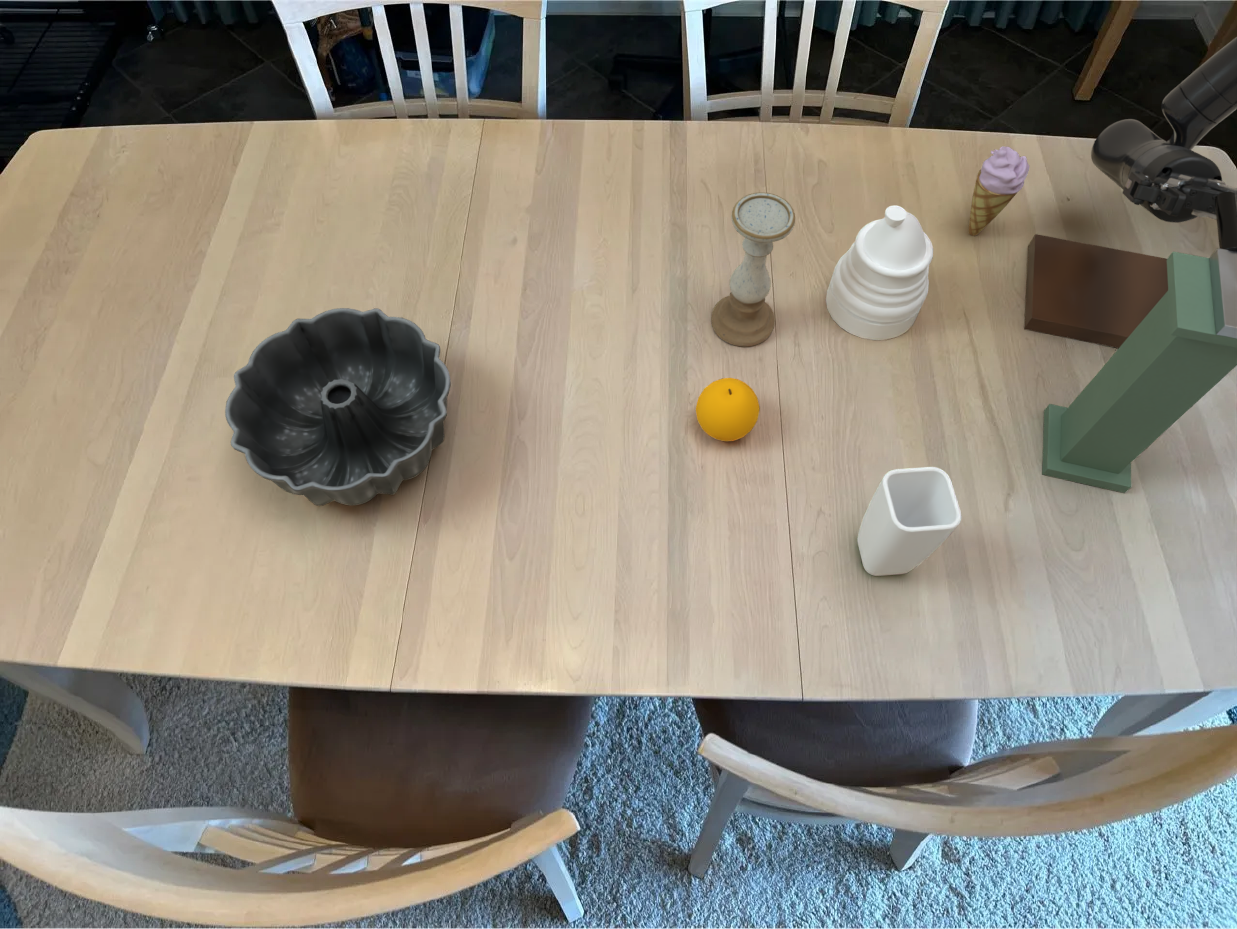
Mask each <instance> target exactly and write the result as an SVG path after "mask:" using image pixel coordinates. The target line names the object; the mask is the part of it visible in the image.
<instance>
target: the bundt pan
mask: <svg viewBox="0 0 1237 929" xmlns="http://www.w3.org/2000/svg"><path fill="white" fill-rule="evenodd" d="M440 357H441V346H440V344H439V343H437V342H435V341H431V340H428V339H427V338H426V335H425V332H424V331H423V330H422V328H421V327H419V325H418V324H416V323H415V322H413V321H411V320H410V319H407V318H404V317H400V316H388V315H387V314H386V313H385V312H384V311H382V310H381V309H380V308H379V307H375V308H371V309H369V310H365V311H361V310H358V309H355V308H350V307H339V308H338V307H337V308H332V309H328V310H325V311H322V312H320V313H318V314H316V315H315V316H313V317H312V318H296V319H294V320H293V321H292V322H291V323H290V324H289V326H288V327H287V328H286V329H285V330H282V331H278V332H275V333H273V334H272V335H269V336H268V337H266V338H265V339H264V340H262V341H260V342H259V344H257V346H256V347H255V348H254V349H253V351H252V352H251V355H250V356H249V359H248V362H247V364H246V365H244V366H243V367H241V368H239V369H238V370H236V371H235V372H234V374H233V380H234V385H235V387H234V388H232V391H231V392H230V394H229V396H228V397H227V400H226V403H225V408H224V416H225V419H226V423H227V424H228V426H229V427H230V429H231V430H232V431H233V433H232V436H231V440H230V446H231V447H232V448H233V449H234V451H237V452H240V453H242V454H244V457H245V460H246V463H247V464H248V465H249V467H250V468H251V469H252V471H253V472H254V473H255V474H257V475H258V476H260V477H261V478H263V479H265V480H267V481H271V482H272V483H273V484H275V485H276V486H277V487H279V488H280V489H281V490H282V491H285V492H286V493H289V494H292V495H296V496H304V497H305V498H306V499H307V500H308V501H310V502H311V503H312V504H313V505H315V506H318V507H322V506H325V505H327V504H330V503H331V502H336V503H338V504H340V505H341V504H342V505H346V506H359V505H363V504H365V503H368V502H369V501H371V500H372V499H374V498H375V497H376V496H377V495H378V494H382V495H383V494H384V495H391V496H392V495H395V494H396V493H397V491H398V490H399V487H400V486H401V485H402V482H403V481H406V480H411V479H414V478H415V477H417V476H419V475H420V474H422V473H423V471H424V470H425V469H426V468H427V467H428V465H429V462H430V460H431V456H432V452H433V450H435V449H436V448H438V447H439V446H441V445H442V444H443V442H444V441H445V420H446V418H447V416H448V396H449V393H450V390H451V384H452V383H451V382H452V381H451V375H450V371H449V369H448V367H447V366H446V364H445V363H444V362H443V361H442V360H441V359H440Z"/></svg>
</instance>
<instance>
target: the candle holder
mask: <svg viewBox="0 0 1237 929" xmlns="http://www.w3.org/2000/svg"><path fill="white" fill-rule="evenodd" d="M730 218H731V219H730V220H731V223H732V227H733V228H734V230H735V231H736V232H737V234H739V235H741V237H743V240H742V242H741V246H742V249H743V251H744V255H743V259H742V261H741V263H740V264H739V265H738V266H737V267H736V268H735V269H734V270H733V271H732V273H731V275H730V278H729V284H728V286H729V290H730V293H729V295H726V296H725V297H722V298H721V299H720V300H719V301H718V302H716V303H715V306H714V307H713V309H712V311H711V317H710V318H711V319H710V320H711V321H710V322H711V327H712V329H713V331H714V332H715V334H716V336H718V337H719V338H720V339H721V340H723V341H724V342H726V343H727V344H730V345H732V346H737V347H754V346H757V345H760V344H761V343H764V341H766V340H767V339H768V338H770V336H771V334H772V332H773V331H774V328H775V325H776V324H775V322H776V318H775V313H774V311H773V309H772V307H771V306H770V305H769V303H768V302H766V297H767V296H768V294H769V293H770V291H771V286H772V281H771V275H770V273H769V271H768V269H767V265H766V264H767V257H768V256H769V255H770V254H771V253H772V251H773V250H774V243H775V242H779V241H781V240H784V239H785V238H787V236H789V235H790V233H792V231H793V229H794V228H795V224H796V213H795V210H794V208H793V206H792V205H791V204H790V202H788V201H787V200H786V199H785V198H783V197H782V196H779V195H777V194H774V193H770V192H764V191H763V192H759V191H758V192H752V193H748V194H746V195H744V196H743V197H741V198H740V199H738V201H737V202H736V203H734V206H733V207H732V210H731V216H730Z"/></svg>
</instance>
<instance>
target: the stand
mask: <svg viewBox="0 0 1237 929" xmlns="http://www.w3.org/2000/svg"><path fill="white" fill-rule="evenodd" d="M1166 259H1167V275H1168V291H1167V292H1166V294H1165V295H1164V296H1163V297H1162V298H1161V299H1160V301H1159V302H1158V303H1157V304H1156V305H1155V306H1154V308H1153V309H1152V310H1151V311H1150V312H1149V313H1148V315H1147V316H1146V317H1145V318H1144V319H1143V320H1142V322H1141V323H1140V324H1139V325H1138V326H1137V327H1136V329H1135V330H1134V331H1133V332H1132V333H1131V335H1130V336H1129V337H1128V338H1127V339H1126V340H1125V342H1124V343H1123V344H1122V345H1121V346H1120V347H1119V348H1117V350H1115V352H1114V353H1113V354H1112V356H1111V357H1110V358H1109V359H1108V360H1107V361H1106V362H1105V364H1104V365H1103V366H1102V367H1101V368H1100V369H1099V371H1098V372H1097V373H1096V374H1095V376H1094V377H1093V378H1092V379H1091V380H1090V381H1089V382H1088V384H1087V385H1086V386H1085V387H1084V388H1083V390H1082V391H1081V392H1079V394H1078V395H1077V397H1075V399H1074V400H1073V401H1072V402H1071V403H1070V404H1069V405H1068V406H1067V407H1066V406H1062V405H1057V404H1052V403H1049V404H1047V406H1046V407H1045V409H1044V410H1043V431H1042V433H1043V437H1042V439H1043V440H1042V441H1043V442H1042V463H1041V464H1042V465H1041V466H1042V467H1041V475H1042V476H1047V477H1050V478H1056V479H1060V480H1065V481H1069V482H1073V483H1077V484H1081V485H1082V484H1083V485H1086V486H1092V487H1096V488H1100V489H1104V490H1109V491H1112V492H1113V491H1114V492H1117V493H1123V494H1125V493H1127V492H1128V491H1129V490H1130V489H1132V462H1134V461H1135V460H1136V459H1137V458H1138V457H1139V456H1140V455H1141V454H1142V453H1143V452H1144V451H1146V450H1147V449H1148V448H1149V447H1150V446H1151V445H1152V444H1153V443H1154V442H1156V440H1157V439H1158V438H1160V437H1161V436H1162V435H1164V433H1165V432H1166V431H1168V430H1169V428H1170V427H1171V426H1172V425H1174V424H1175V423H1176V422H1177V421H1178V420H1180V419H1181V417H1182V416H1184V414H1186V413H1187V412H1188V411H1189V410H1190V409H1191V408H1192V407H1194V406H1195V405H1196V404H1197V403H1198V402H1199V401H1200V400H1201V399H1202V398H1203V397H1204V396H1206V394H1208V392H1210V391H1211V390H1212V389H1213V388H1214V387H1215V386H1217V384H1218V383H1219V382H1221V381H1222V380H1223V379H1224V378H1225V377H1227V375H1228V374H1229V373H1230V372H1231V371H1233V369H1235V368H1236V367H1237V339H1236V338H1231V337H1226V336H1221V335H1217V334H1216V328H1215V317H1214V306H1213V295H1212V284H1211V273H1210V262H1209V257H1207V256H1206V257H1205V256H1200V255H1195V254H1190V253H1185V252H1179V251H1172V252H1171V253H1170V254H1169V256H1168V257H1167V258H1166Z"/></svg>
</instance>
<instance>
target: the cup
mask: <svg viewBox="0 0 1237 929" xmlns="http://www.w3.org/2000/svg"><path fill="white" fill-rule="evenodd" d="M956 494H957V493H956V491H955V488H954V485H953V482H952V479H951V477H950V476H949V474H948V472H946V471H945V470H943V469H942V468H940V467H937V466H922V467H921V466H920V467H910V468H909V467H908V468H895V469H891V470H889V471H887V472H886V473H885V474H884V475H883V477H882V479H881V481H880V482H879V484H878V485H877V487H876V490H875V491H874V493H873V495H872V497H871V499H870V501H869V504H868V506H867V507H866V511H865V512H864V514H863V517H862V520H861V524H860V526H859V529H858V534H857V539H856V540H857V546H858V549H859V554H860V558H861V563H862V566H863V568H864V570H865V571H866V573H867V574H869V575H871V576H876V577H880V576H881V577H882V576H892V575H893V576H894V575H904V574H908V573H909V572H911V571H912V570H914V569H915V568H917V567H918V566H920V565H921V564H922V563H923V562H924V561H925V560H927V559H928V558H930V556H931V555H933V553H934V552H935V551H937V550H938V548H940V547H941V546H942V544H944V543H945V541H946V540H947V539H948V538H949V537H950V536H951V535H952V533H953V532H955V530H956V529H957V527H958V526H959V525H960V523H961V521H962V511H961V507H960V505H959V501H958V497H957V495H956Z"/></svg>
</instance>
